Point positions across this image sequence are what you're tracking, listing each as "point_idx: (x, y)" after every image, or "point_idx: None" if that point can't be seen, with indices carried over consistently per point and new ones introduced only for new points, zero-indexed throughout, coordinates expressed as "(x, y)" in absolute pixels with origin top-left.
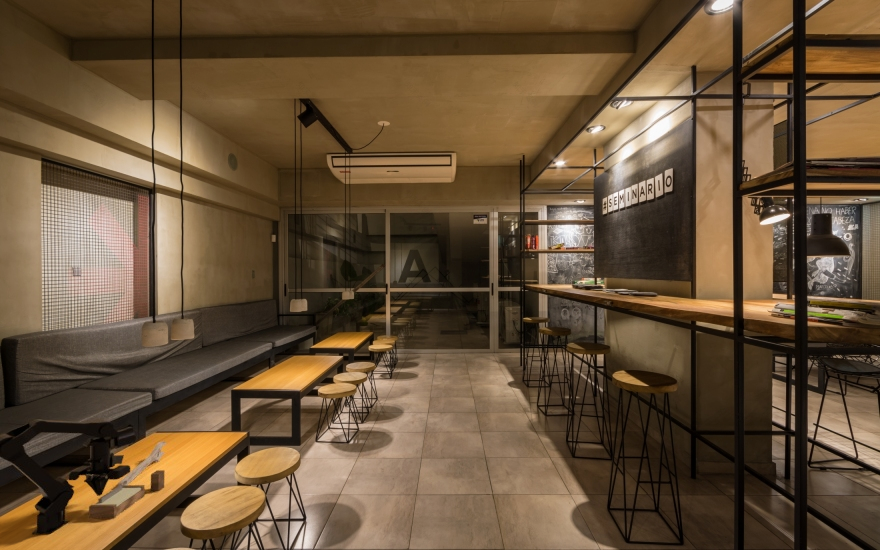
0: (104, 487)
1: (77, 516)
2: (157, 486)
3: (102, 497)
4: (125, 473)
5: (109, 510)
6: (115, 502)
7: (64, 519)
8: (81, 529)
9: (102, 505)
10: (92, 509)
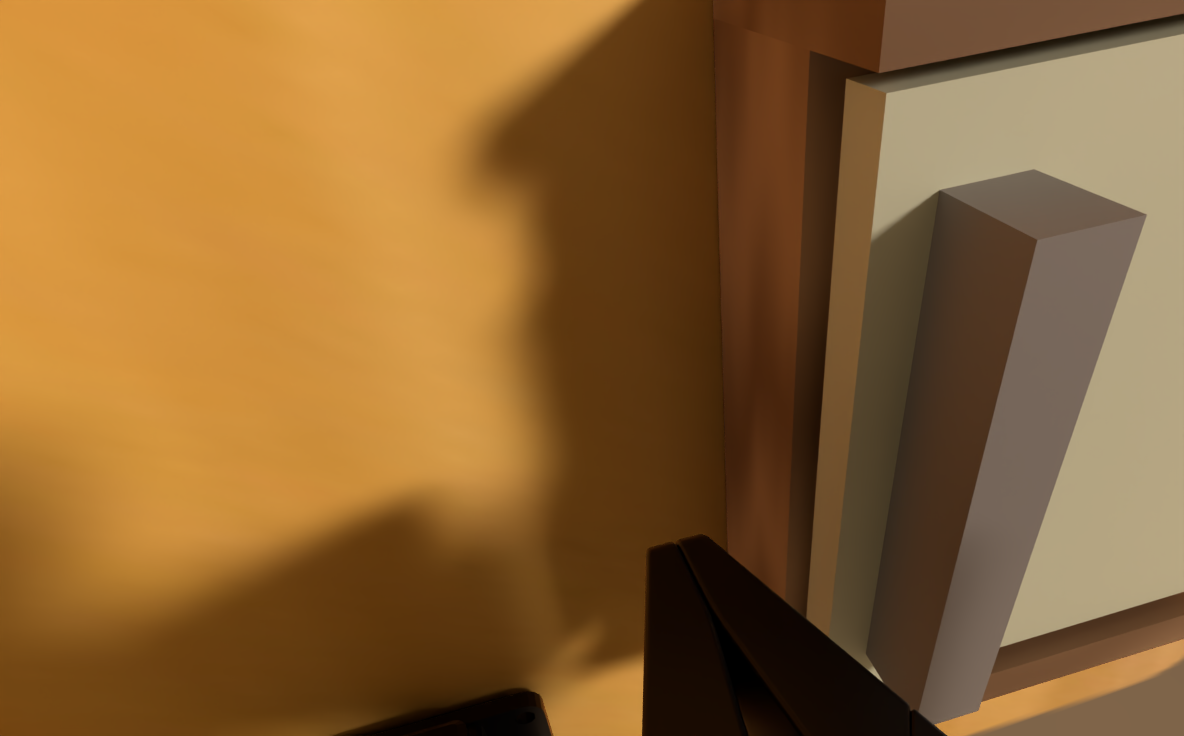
0: (848, 665)
1: (504, 602)
2: None
3: (959, 691)
4: None
5: None
6: (1153, 561)
7: (468, 730)
8: None
9: (1011, 679)
10: None
